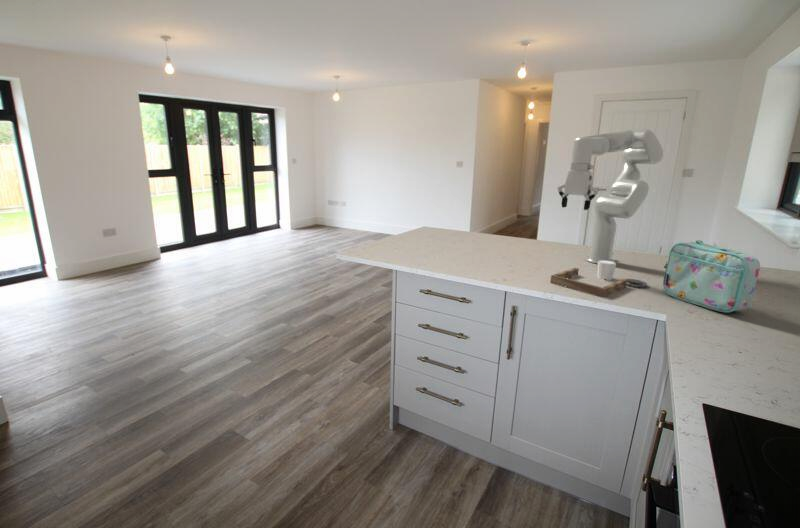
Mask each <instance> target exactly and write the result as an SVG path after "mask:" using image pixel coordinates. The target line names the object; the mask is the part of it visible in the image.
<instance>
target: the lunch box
mask: <svg viewBox="0 0 800 528" xmlns="http://www.w3.org/2000/svg"><path fill="white" fill-rule="evenodd" d="M663 268H664V269H665V270H664V274H663V275H664V276H663V281H662V283H663V285H662V286H663V289H664V292H665V293H666V294H667V295H669V296H671V297H672V298H675V299H678V300H680V301H684V302H686V303H689V304H693V305H695V306H699V307H702V308H706V309H708V310H712V311H716V312H721V313H725V314H726V313H732V312H744V311H747V310H748V309H749V308H750V306H751V303H752V301H753V298H754V293H755V289H756V286H757V281H758V279H759V274H760V270H761V264H760V261H759V258H757V257H756V256H754V255H751V254H748V253H746V252H742V251H738V250H735V249H734V250H733V249H729V248H726V247H721V246H716V245H713V244H707V243H704V242H703V240H700V239H699V240H695V241H694V242H693V241H690V242H683V241H682V242H678V243H676V244H674V245H673V246H672V247H671V249H670V252H669V256H668V260H667V262H666V263H665V265H664V267H663Z"/></svg>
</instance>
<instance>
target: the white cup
mask: <svg viewBox="0 0 800 528" xmlns="http://www.w3.org/2000/svg"><path fill="white" fill-rule="evenodd" d="M616 266H617V263H616V261H614V262H612V261H607V260H599V261H598V264H597V274H596V275H597V276H596V277H598V278H597V279H599V278H601V279H600V280H602V279H606V280H605V281H612V280H613V277H614V273H615V270H616ZM611 279H612V280H611Z"/></svg>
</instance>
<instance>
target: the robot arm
mask: <svg viewBox="0 0 800 528" xmlns="http://www.w3.org/2000/svg"><path fill="white" fill-rule="evenodd" d="M620 151H621V152H622V156H621V159H622V160H621V161H622V166H621V167H622V169H621V172H620V174H619V175H618V176H617V178H616V179H615V180H614V182H613V183H612V184H611V186H610V188H609V190H608V194H607V195H605V194H603V195H600V196H599V197H597V199H596V200H595V202H594V222H593V223H594V224H593V228H592V236H591V243H590V250H589V255H587V256H585V260H586V262H588V263H592V264H597V265H598V261H599V260H607V261H612V262H615V260H614V259H613V258H612V256H614V252H613V249H614V245H615V243H614V242H615V237H616V231H617V223H616V220H615V218H617V219H624V220H627V219H628V220H629V219H631V218H632V217H633V216H634V215H635V214H636V212H637V211H638V210H639V208H640V207H641V206H642V204H643V203H644V202H645V200H646V198H647V197H648V194H649V184H648V183H647V181H645V180H641V179H640V178H641V172H640V170H639V168H638V166H637V164H638V165H656V164H659V163H660V162H661V161H662V159H663V157H664V149H663V146H662V145H661V143H660V140H659V139H658V137H657V135H656V134H655V133H654V131H652V130H651V129H647V128H646V129H645V128H644V129H641V128H639V129H625V130H620V131H615V132H614V131H613V132H606V133H601V134H594V135H593V134H592V135H587V136H583V137H581V136H578V137H576V138H574V141H573V147H572V153H571V154H572V155H571V163H570V170H569V171H568V173H567V176H566V179H565V184H562V185H560V186H558V187H557V190H558V194H559V196H560V198H561V208H566V207H567V206H568V199H569V198H568V196H569V195H572V196H583V197H584V198H585V200H584V206H583V210H584V211H588V210H589V208H591V201H592V200H593V199H594V198H596V196H597V195H598V193H599V191H600V190H599V189H597V188H595V187H594V186H593V172H592V171H591V170H593V169H594V165H592V158H593V156H595V157H597V156H599V157H600V156H604V155H605V154H607V153H617V152H620ZM563 189H564V191H563Z"/></svg>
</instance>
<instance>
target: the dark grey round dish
mask: <svg viewBox="0 0 800 528" xmlns="http://www.w3.org/2000/svg"><path fill="white" fill-rule="evenodd" d="M625 279H626V280H627V284H626V287H627V288H628V287H629V288H634V289H635V288H636V289H646V288H647V287H648V283H647V282H645V281H644V280H640V279H635V278H625Z"/></svg>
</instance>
